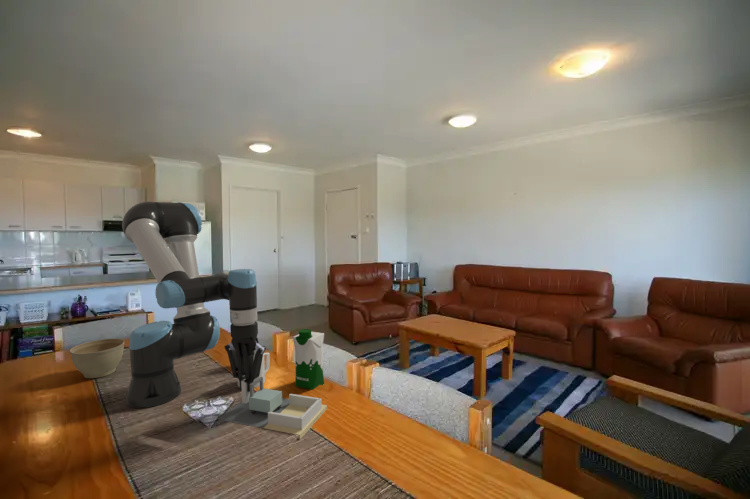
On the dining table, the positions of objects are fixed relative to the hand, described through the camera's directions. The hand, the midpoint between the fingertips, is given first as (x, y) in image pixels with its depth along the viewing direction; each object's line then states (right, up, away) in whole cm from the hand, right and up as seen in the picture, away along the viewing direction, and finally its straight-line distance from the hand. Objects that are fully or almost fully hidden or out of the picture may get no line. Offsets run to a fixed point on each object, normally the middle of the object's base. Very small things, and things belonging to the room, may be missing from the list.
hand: (247, 401), depth 107 cm
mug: (-4, -2, +18) cm, 19 cm away
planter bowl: (-65, -2, +29) cm, 71 cm away
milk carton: (+16, -2, +16) cm, 23 cm away
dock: (+9, -3, -2) cm, 9 cm away
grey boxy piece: (+6, -2, -2) cm, 7 cm away
